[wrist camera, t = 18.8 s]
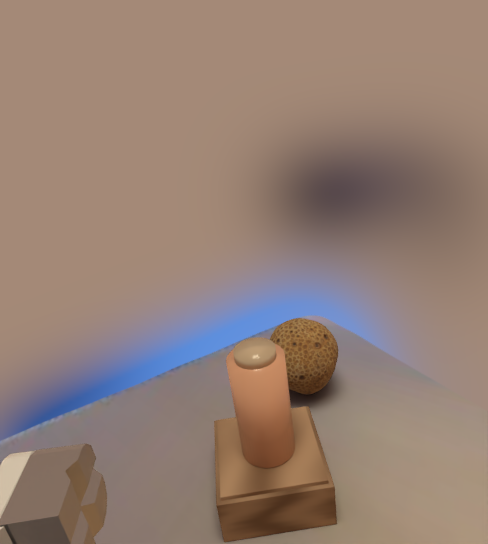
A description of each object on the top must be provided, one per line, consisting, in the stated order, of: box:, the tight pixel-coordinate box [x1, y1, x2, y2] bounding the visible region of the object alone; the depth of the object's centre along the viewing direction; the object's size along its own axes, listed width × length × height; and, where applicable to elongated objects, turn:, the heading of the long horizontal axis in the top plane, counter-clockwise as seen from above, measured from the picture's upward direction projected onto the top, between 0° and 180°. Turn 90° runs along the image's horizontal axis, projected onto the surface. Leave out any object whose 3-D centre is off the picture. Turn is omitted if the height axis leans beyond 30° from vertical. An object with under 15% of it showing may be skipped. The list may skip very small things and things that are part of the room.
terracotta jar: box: [226, 338, 295, 468], centre depth 39 cm, size 5×5×11 cm
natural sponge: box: [270, 318, 338, 394], centre depth 53 cm, size 9×9×10 cm
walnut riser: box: [214, 406, 337, 542], centre depth 42 cm, size 10×10×5 cm
